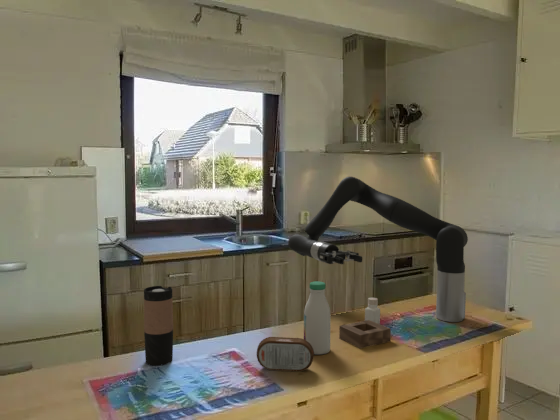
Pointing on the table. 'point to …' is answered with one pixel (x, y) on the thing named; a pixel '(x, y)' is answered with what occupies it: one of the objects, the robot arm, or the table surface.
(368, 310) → the salt shaker
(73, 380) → the table surface
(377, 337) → the walnut stand
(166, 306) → the travel mug
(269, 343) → the tin
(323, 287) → the milk bottle
